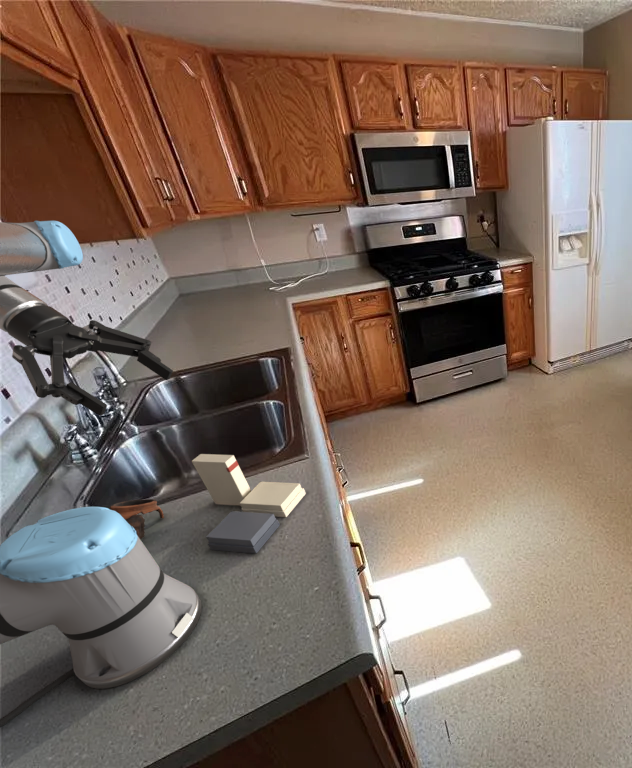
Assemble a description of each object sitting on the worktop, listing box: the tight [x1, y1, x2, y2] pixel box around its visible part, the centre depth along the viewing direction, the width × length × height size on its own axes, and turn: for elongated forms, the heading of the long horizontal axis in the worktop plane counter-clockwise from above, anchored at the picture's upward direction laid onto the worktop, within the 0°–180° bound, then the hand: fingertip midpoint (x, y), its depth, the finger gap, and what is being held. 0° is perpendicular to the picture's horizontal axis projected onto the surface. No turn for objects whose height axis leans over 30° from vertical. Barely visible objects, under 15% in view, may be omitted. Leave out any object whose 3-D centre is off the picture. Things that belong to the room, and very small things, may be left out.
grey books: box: [205, 510, 281, 554], centre depth 81 cm, size 7×10×3 cm
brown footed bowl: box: [109, 498, 165, 541], centre depth 84 cm, size 12×10×8 cm
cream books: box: [240, 481, 307, 518], centre depth 89 cm, size 7×10×3 cm
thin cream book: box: [191, 453, 252, 507], centre depth 88 cm, size 2×8×12 cm, turn 81°
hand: (139, 391), depth 80 cm, fingers open, 13 cm apart
